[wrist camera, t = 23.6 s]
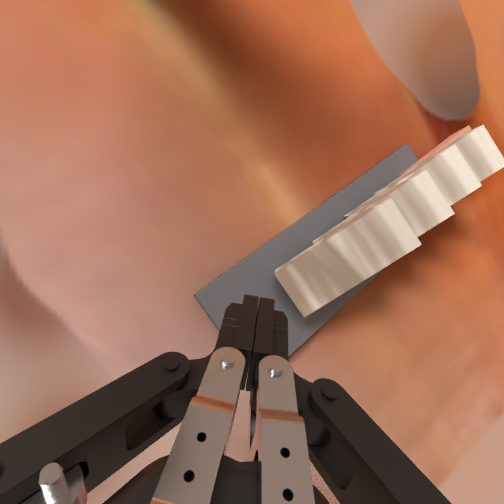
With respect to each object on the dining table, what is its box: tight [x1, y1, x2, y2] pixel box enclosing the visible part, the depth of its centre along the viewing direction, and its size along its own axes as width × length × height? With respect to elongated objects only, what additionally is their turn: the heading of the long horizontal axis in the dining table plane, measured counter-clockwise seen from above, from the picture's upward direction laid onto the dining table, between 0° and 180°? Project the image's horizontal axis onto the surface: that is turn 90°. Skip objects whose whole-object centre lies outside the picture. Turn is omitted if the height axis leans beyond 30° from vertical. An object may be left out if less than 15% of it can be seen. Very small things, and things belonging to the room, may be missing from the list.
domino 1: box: [312, 170, 455, 244], centre depth 30 cm, size 2×5×12 cm
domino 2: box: [275, 198, 422, 318], centre depth 28 cm, size 2×5×12 cm
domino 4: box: [373, 125, 504, 195], centre depth 33 cm, size 2×5×12 cm
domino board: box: [194, 143, 424, 369], centre depth 33 cm, size 10×32×1 cm, turn 126°
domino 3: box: [344, 145, 482, 219], centre depth 32 cm, size 2×5×12 cm
